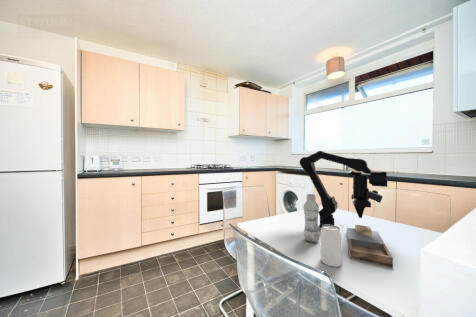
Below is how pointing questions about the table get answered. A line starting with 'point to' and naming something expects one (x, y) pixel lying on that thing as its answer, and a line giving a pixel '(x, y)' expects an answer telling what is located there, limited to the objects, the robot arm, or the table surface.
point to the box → (371, 254)
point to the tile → (363, 230)
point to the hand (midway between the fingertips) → (360, 217)
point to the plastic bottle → (311, 219)
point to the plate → (365, 239)
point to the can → (331, 245)
